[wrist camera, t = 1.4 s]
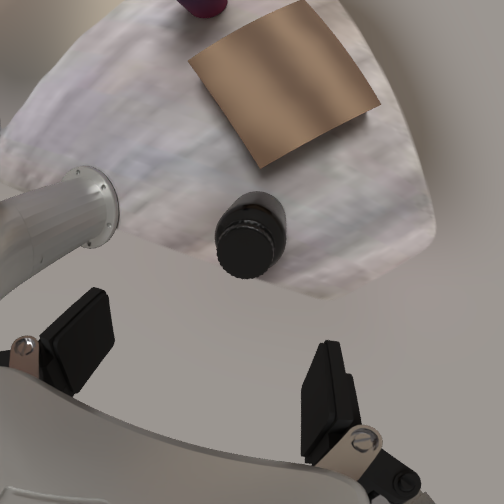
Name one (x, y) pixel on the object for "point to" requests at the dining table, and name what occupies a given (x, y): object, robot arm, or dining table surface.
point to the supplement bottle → (251, 235)
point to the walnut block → (283, 81)
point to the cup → (204, 7)
